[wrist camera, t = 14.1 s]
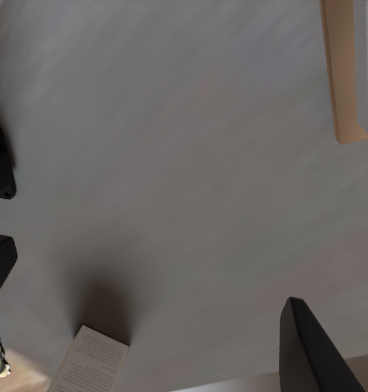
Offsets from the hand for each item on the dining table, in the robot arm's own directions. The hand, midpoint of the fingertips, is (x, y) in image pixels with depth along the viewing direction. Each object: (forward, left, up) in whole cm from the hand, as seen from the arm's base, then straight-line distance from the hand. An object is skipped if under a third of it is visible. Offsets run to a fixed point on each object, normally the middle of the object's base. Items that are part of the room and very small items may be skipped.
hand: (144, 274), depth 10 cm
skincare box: (-8, -27, -13) cm, 31 cm away
